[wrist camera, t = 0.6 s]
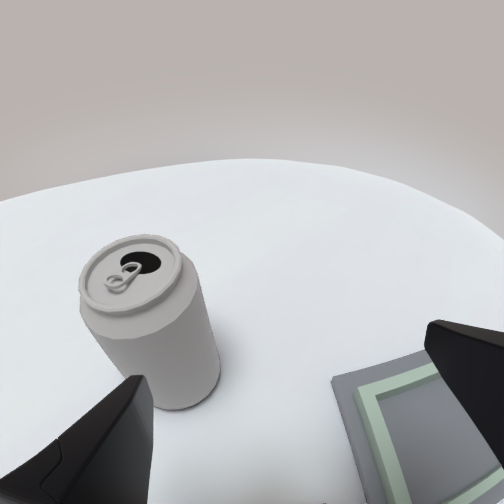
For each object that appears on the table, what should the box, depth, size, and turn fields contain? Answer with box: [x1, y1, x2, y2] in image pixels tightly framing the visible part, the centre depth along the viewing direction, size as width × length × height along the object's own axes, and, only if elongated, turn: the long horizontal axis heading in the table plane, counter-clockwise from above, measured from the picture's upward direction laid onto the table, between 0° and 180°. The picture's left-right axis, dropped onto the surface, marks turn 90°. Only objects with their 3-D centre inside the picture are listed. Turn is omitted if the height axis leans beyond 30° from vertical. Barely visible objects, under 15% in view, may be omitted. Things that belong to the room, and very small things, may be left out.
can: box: [79, 234, 220, 410], centre depth 19 cm, size 8×8×12 cm
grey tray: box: [331, 350, 504, 504], centre depth 15 cm, size 16×14×2 cm
